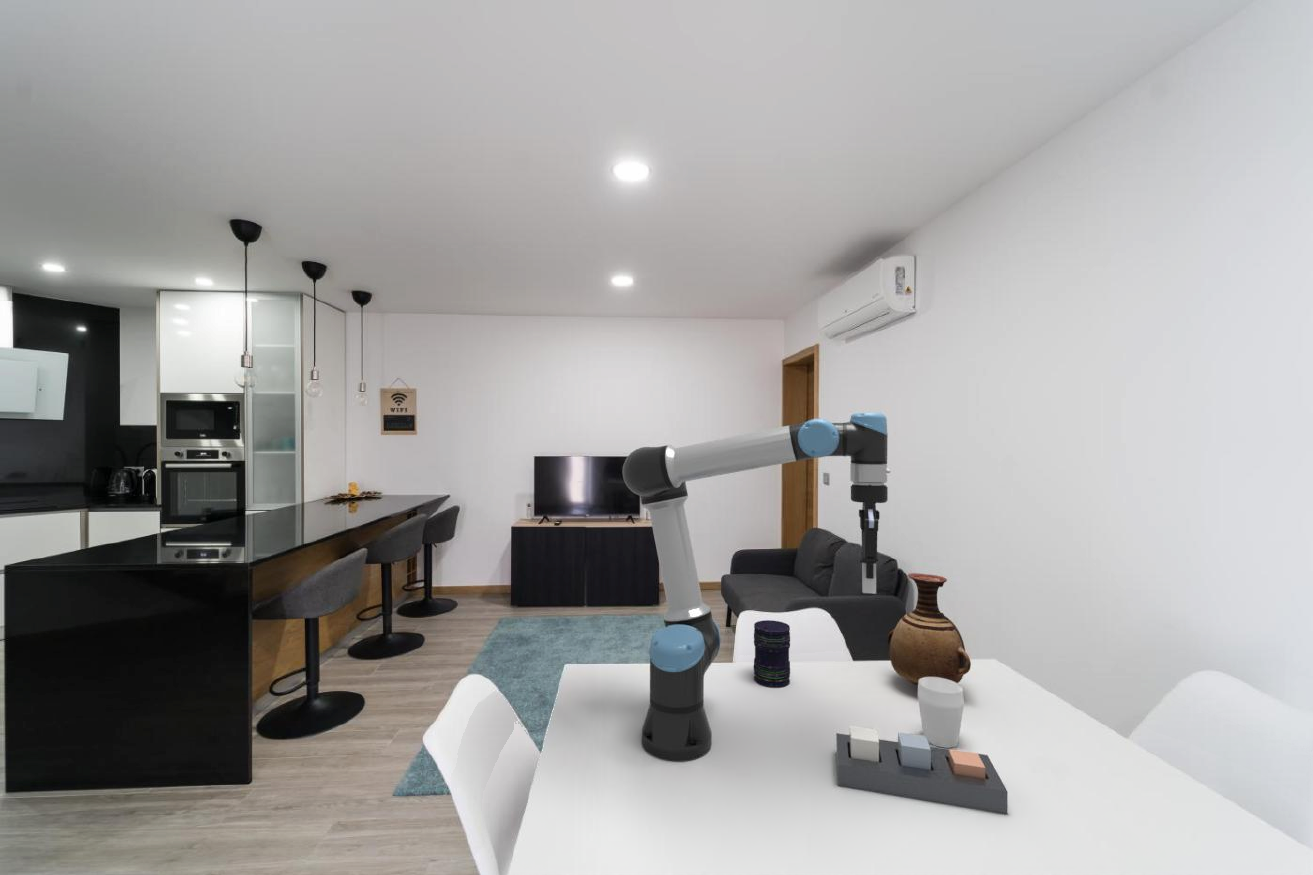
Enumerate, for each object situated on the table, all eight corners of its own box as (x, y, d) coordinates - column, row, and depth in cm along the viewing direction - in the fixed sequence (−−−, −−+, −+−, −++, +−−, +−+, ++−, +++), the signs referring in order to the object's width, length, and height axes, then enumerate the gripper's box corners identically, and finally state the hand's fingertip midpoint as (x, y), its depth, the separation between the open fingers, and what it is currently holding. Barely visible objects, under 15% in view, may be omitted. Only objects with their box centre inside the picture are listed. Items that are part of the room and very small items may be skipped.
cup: (970, 753, 115) (970, 695, 116) (924, 748, 117) (923, 691, 117) (956, 732, 124) (955, 678, 124) (913, 727, 126) (912, 674, 126)
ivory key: (851, 764, 106) (851, 738, 107) (849, 750, 111) (849, 725, 111) (878, 768, 105) (878, 742, 105) (876, 754, 110) (876, 729, 110)
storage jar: (769, 670, 158) (769, 618, 159) (797, 681, 151) (797, 626, 151) (746, 679, 152) (746, 624, 152) (774, 691, 145) (774, 634, 145)
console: (838, 785, 104) (838, 764, 104) (836, 752, 115) (836, 733, 115) (1007, 814, 96) (1007, 791, 96) (987, 775, 107) (987, 755, 107)
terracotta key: (954, 790, 101) (954, 763, 101) (948, 775, 106) (948, 749, 106) (985, 795, 100) (985, 767, 100) (978, 780, 105) (977, 753, 105)
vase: (871, 678, 153) (871, 569, 154) (924, 670, 159) (923, 566, 159) (931, 713, 133) (930, 588, 134) (989, 703, 138) (988, 583, 139)
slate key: (901, 772, 104) (901, 745, 104) (898, 758, 109) (898, 732, 109) (930, 776, 103) (930, 749, 103) (925, 762, 107) (925, 736, 107)
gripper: (891, 486, 113) (891, 601, 113) (884, 482, 126) (884, 586, 125) (852, 485, 115) (852, 598, 115) (849, 481, 128) (849, 584, 127)
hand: (869, 592), depth 120 cm, fingers closed
